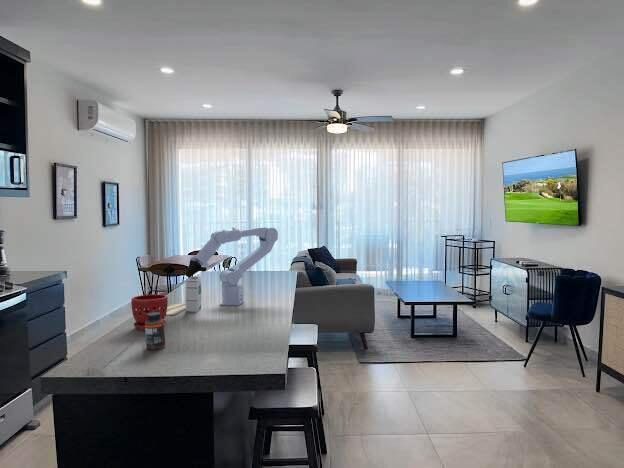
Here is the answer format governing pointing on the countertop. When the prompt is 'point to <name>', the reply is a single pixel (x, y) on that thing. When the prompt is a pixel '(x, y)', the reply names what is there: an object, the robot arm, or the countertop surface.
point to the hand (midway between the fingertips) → (187, 276)
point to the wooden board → (175, 309)
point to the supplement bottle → (154, 331)
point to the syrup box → (193, 294)
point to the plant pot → (148, 303)
